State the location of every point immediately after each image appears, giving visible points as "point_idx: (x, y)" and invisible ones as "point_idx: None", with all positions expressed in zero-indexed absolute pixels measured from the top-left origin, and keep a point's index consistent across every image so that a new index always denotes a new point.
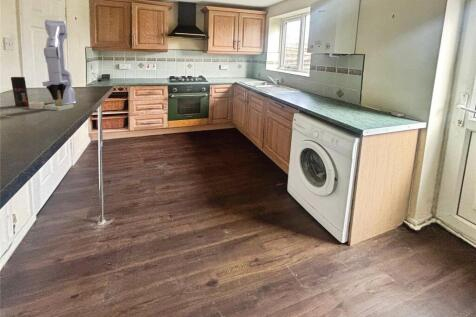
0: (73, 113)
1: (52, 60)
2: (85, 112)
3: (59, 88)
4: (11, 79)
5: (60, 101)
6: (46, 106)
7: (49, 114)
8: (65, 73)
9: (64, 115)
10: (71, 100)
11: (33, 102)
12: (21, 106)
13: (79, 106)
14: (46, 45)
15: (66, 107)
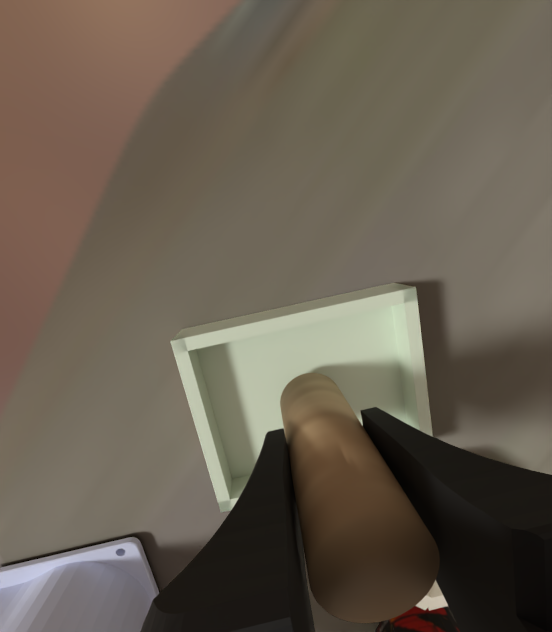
0: (368, 82)
1: None
2: (249, 26)
3: (307, 618)
4: None
5: (316, 396)
6: (428, 420)
7: (526, 217)
8: None
9: (491, 58)
10: (17, 600)
11: (435, 591)
12: (452, 618)
13: (78, 386)
14: None
15: (287, 310)
